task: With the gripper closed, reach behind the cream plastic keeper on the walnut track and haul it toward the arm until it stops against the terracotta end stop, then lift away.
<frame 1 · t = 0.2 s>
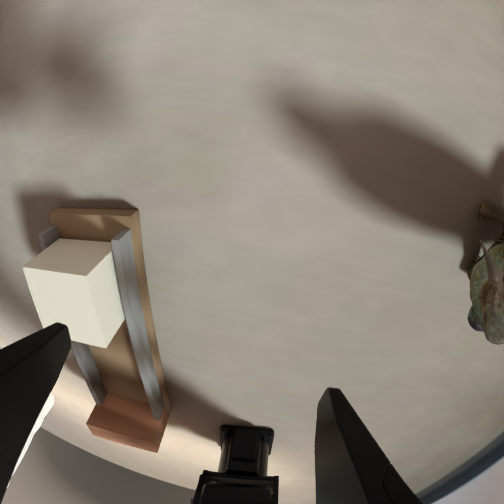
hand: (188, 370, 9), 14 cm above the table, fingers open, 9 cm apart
bird figurine: (494, 228, 21), on the table
water bottle: (38, 385, 36), on the table
track: (118, 327, 28), on the table
keeper: (79, 290, 21), point 4 cm above the table, slide at 0.0 cm
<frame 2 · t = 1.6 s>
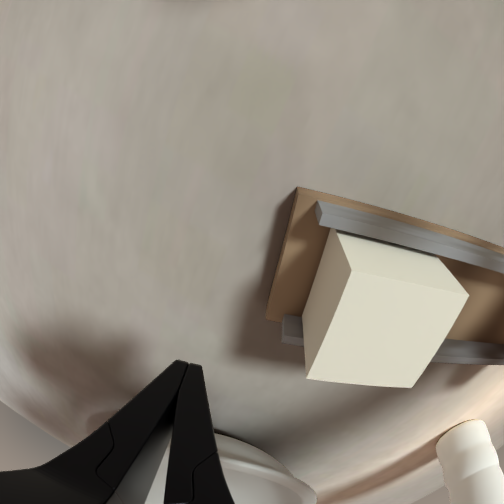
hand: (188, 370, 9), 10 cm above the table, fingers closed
soup bowl: (208, 450, 30), on the table
water bottle: (458, 432, 28), on the table
track: (446, 286, 19), on the table
keeper: (376, 308, 15), point 4 cm above the table, slide at 0.0 cm
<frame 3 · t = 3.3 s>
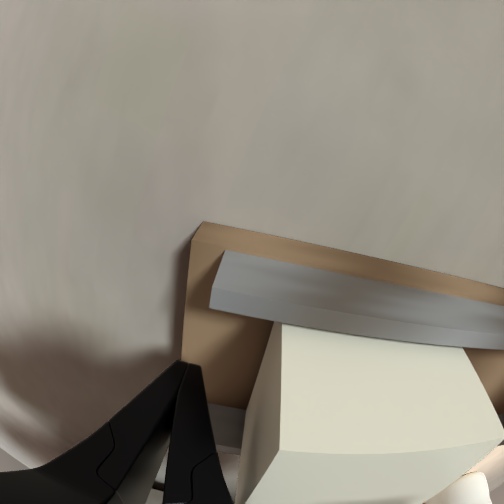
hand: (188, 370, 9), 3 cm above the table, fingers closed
soup bowl: (164, 497, 24), on the table
water bottle: (454, 483, 21), on the table
track: (450, 356, 12), on the table
keeper: (351, 432, 8), point 4 cm above the table, slide at 0.9 cm, touching gripper
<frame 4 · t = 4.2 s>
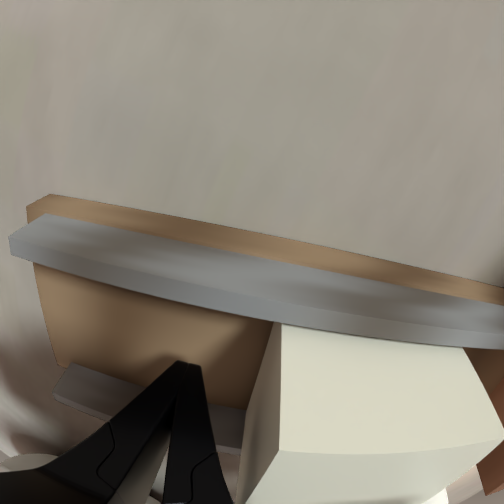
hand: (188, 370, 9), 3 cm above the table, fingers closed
soup bowl: (107, 479, 24), on the table
water bottle: (410, 492, 21), on the table
track: (332, 343, 12), on the table
keeper: (351, 432, 8), point 4 cm above the table, slide at 7.2 cm, touching gripper
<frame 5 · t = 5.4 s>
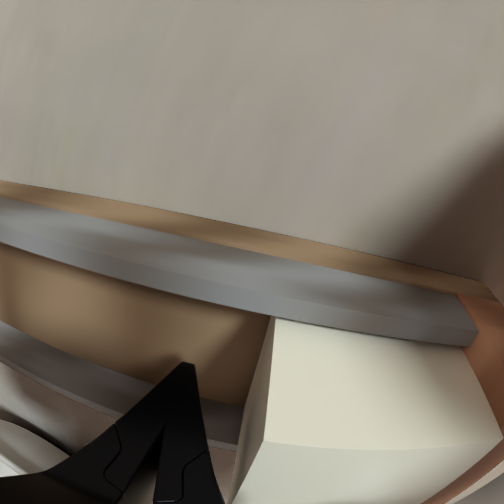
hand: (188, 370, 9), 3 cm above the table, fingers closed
soup bowl: (59, 453, 24), on the table
track: (173, 308, 12), on the table
keeper: (346, 430, 8), point 4 cm above the table, slide at 13.6 cm, touching gripper, track
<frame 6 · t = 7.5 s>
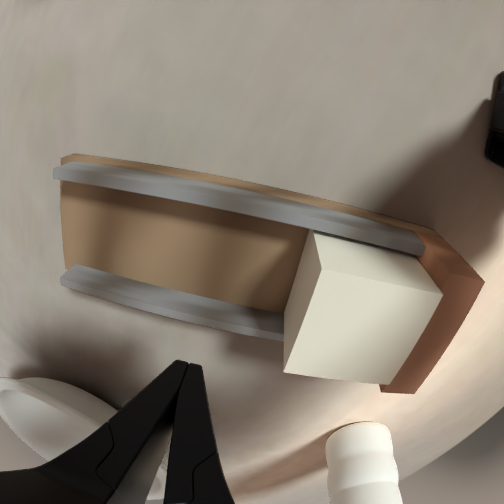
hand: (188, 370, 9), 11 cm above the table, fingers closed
soup bowl: (93, 411, 31), on the table
water bottle: (357, 434, 28), on the table
track: (239, 245, 20), on the table
keeper: (353, 306, 16), point 4 cm above the table, slide at 13.5 cm
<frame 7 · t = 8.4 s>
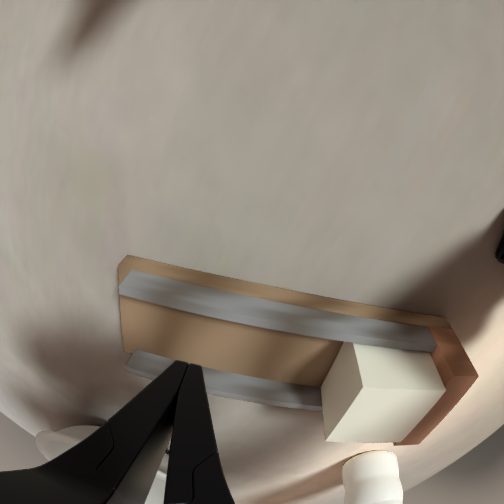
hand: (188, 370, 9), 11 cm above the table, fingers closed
soup bowl: (133, 447, 34), on the table
water bottle: (368, 459, 31), on the table
track: (286, 336, 22), on the table
keeper: (378, 390, 19), point 4 cm above the table, slide at 13.5 cm
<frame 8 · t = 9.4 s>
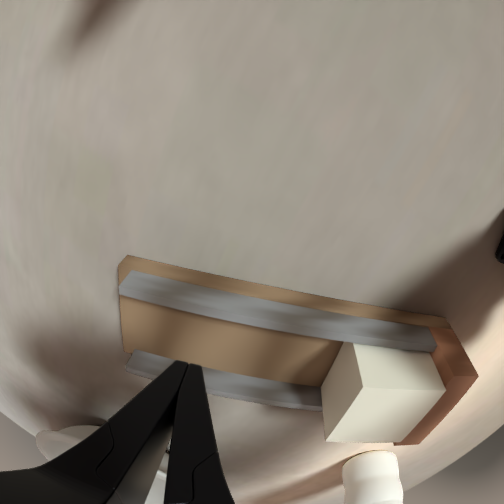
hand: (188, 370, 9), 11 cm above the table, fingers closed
soup bowl: (133, 447, 34), on the table
water bottle: (368, 459, 31), on the table
track: (286, 336, 22), on the table
keeper: (378, 390, 19), point 4 cm above the table, slide at 13.5 cm
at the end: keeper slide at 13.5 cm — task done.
